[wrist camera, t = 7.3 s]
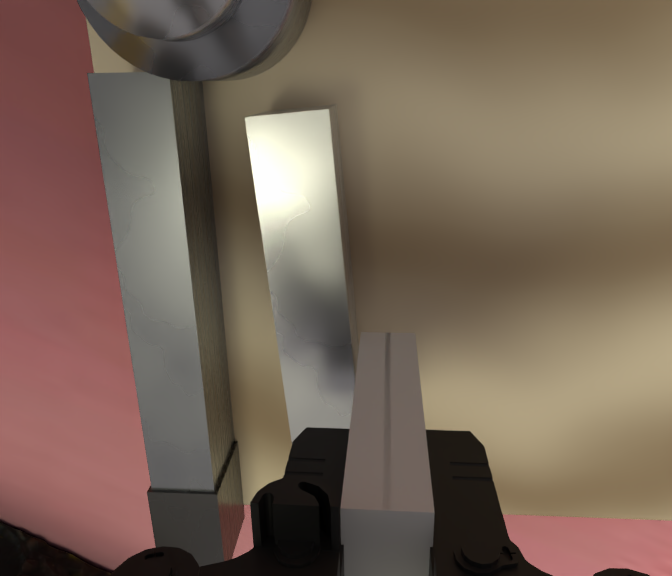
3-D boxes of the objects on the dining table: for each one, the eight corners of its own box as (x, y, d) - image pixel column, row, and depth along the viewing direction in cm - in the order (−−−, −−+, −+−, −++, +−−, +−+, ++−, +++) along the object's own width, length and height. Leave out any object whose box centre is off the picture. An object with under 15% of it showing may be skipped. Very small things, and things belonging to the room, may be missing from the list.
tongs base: (102, -122, 13) (20, -181, 10) (310, -130, 13) (289, -194, 10) (186, 514, 19) (151, 593, 16) (327, 519, 19) (317, 602, 16)
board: (80, -167, 14) (54, -188, 13) (821, -203, 13) (865, -231, 12) (170, 478, 20) (158, 501, 19) (665, 495, 19) (682, 520, 18)
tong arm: (144, -85, 13) (39, -158, 9) (321, -109, 13) (294, -196, 9) (254, 524, 19) (221, 645, 15) (378, 521, 19) (378, 644, 14)
